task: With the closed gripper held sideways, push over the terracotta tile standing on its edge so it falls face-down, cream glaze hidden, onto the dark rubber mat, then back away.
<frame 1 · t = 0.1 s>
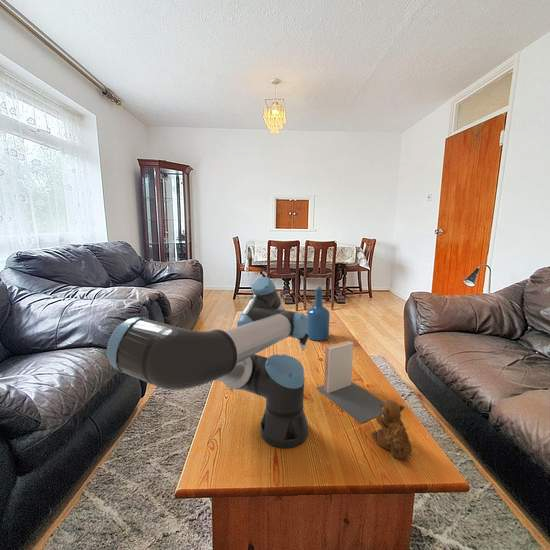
hand: (289, 344, 120), 15 cm above the table, tool tilted 35°, fingers open, 13 cm apart
mat: (352, 398, 109), on the table
wine bottle: (317, 337, 168), on the table
tile: (337, 387, 116), resting on mat
stuffed squirrel: (393, 448, 85), on the table
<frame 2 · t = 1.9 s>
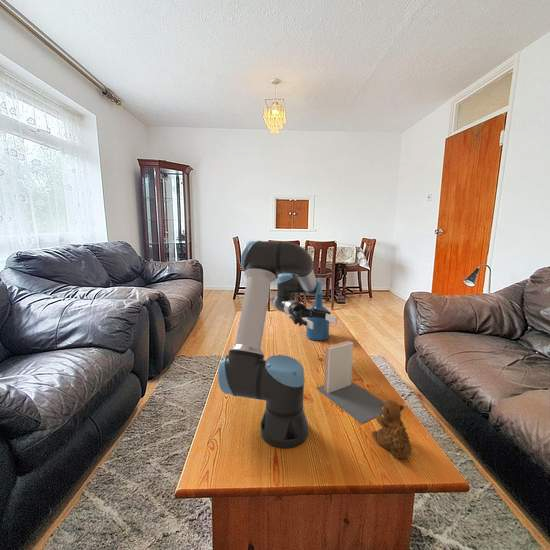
hand: (324, 323, 119), 24 cm above the table, tool horizontal, fingers open, 12 cm apart
nothing on the table moved.
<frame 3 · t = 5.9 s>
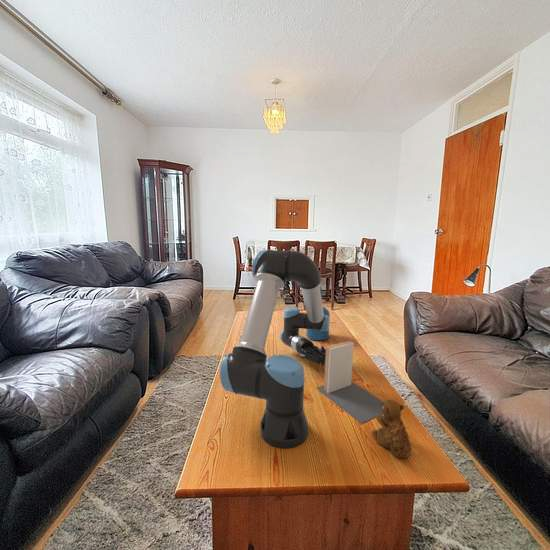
hand: (337, 366, 116), 8 cm above the table, tool horizontal, fingers closed
tile: (337, 387, 116), resting on mat, touching gripper
everything else where it was.
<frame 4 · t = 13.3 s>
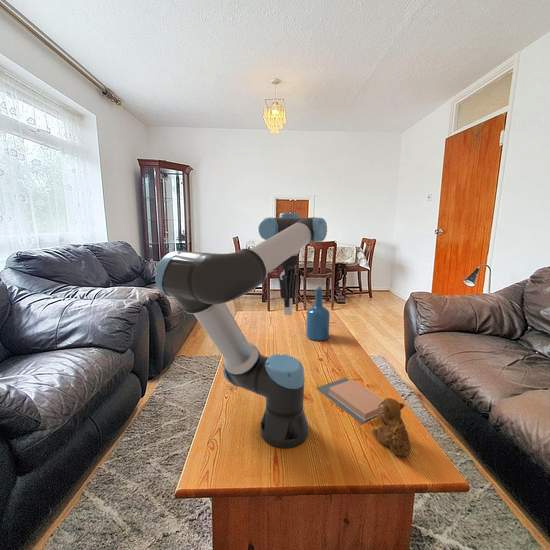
hand: (288, 314, 114), 29 cm above the table, tool pointing down, fingers closed
tile: (340, 386, 114), point 2 cm above the table, tilted 90°, touching mat
at the end: tile tilted 90°; tile inside the target area on the mat (6.4 cm from its centre), point 1.6 cm above the mat's base; the gripper is holding nothing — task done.
